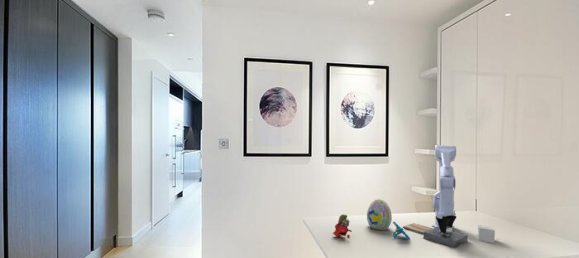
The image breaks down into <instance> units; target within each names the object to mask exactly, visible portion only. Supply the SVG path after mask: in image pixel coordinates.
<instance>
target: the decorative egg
mask: <svg viewBox="0 0 579 258" xmlns="http://www.w3.org/2000/svg"><path fill="white" fill-rule="evenodd" d="M391 211H392V210H391V208H390V206H389V205H388V203H387V201H386V200H385V199H383V198H376V199H374V200H373V201H372V202H371V203H370V204H369V206H368V207H367V211H366V220H367V224H368V226H370V228H371V229H373V230H377V231H386V230H387V229H389V228H390V226H391V223H392V212H391Z"/></svg>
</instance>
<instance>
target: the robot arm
mask: <svg viewBox="0 0 579 258" xmlns="http://www.w3.org/2000/svg"><path fill="white" fill-rule="evenodd" d="M434 147H435V148H434V159H435V160H436V161H438V163H439V180H438V181H439V184H438V185H439V187H438V189H439V191H436V192H435V193H434V194H433V199H432V208H433V209H435V212H434V213H435V216H434V217H435V218H434V224H432V225H431V227H434V228H436V227H439V229H440V232H441V233H446V229H447V226H449V227H451V228H452V229H453V228H455V225H454V224H455V223H454V222H455V220H456V219H457V214H456V210H455V200H454V199H455V198H454V197H455V191H456V187H457V186H456V183H457V182H456V181H457V180H456V177H455V176H454V175H455V174H454V167H453V166H451V165H452V164H451V162H455V160H456V156H457V146H456V145H445V144H444V145H443V144H442V145H441V144H436V145H435V146H434Z"/></svg>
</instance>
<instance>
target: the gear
mask: <svg viewBox="0 0 579 258" xmlns="http://www.w3.org/2000/svg"><path fill="white" fill-rule="evenodd" d="M392 224H393V225H394V226H395V230H394V232H392V235H393V236H392V237H393V238H394V239H396V237H397V236H399V235H403V236H404V237H405V238H407V240H411V238H410V236H409V235H408V233H406V231H405V229H403V227H401V226H399V225H398V224H397V222H396V221H392Z"/></svg>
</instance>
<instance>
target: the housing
mask: <svg viewBox="0 0 579 258" xmlns="http://www.w3.org/2000/svg"><path fill="white" fill-rule="evenodd" d="M432 228H433V227H432ZM422 235H423V237H422V238H423V239H424V240H428V241H431V242H435V243H437V244H440V245H444V246H447V247H451V248H453V249H456V248H459V246H462V245H464V244H466V243H468V242H469V239H468V238H469V235H468V234H464V233H461V232H457V231H453V230H452V234H450V236H447V235H444V234H441V233H440V232H439V227H434V228H433V229H430V230H427V231H425V232H424V233H423V234H422Z"/></svg>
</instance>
